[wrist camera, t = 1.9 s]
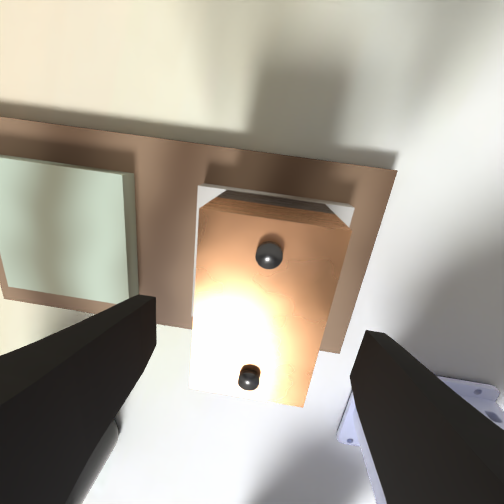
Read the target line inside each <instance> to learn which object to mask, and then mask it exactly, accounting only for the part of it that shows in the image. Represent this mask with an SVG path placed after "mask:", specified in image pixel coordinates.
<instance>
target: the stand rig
mask: <svg viewBox="0 0 504 504" xmlns="http://www.w3.org/2000/svg"><path fill="white" fill-rule="evenodd" d="M396 174H397V170H390V169H383V168H375V167H368V166H360V165H353V164H346V163H338V162H331V161H324V160H316V159H309V158H301V157H294V156H287V155H279V154H272V153H265V152H257V151H250V150H242V149H235V148H228V147H220V146H213V145H206V144H198V143H191V142H183V141H176V140H169V139H161V138H154V137H147V136H139V135H132V134H124V133H117V132H110V131H102V130H95V129H87V128H80V127H73V126H65V125H58V124H51V123H43V122H36V121H28V120H21V119H14V118H6V117H0V285H1V288H2V292H3V296H4V299H9V300H15V301H21V302H27V303H33V304H39V305H45V306H51V307H58V308H64V309H70V310H76V311H82V312H88V313H94V314H98V313H100V312H102V311H104V310H106V309H108V308H110V307H112V306H114V305H116V304H118V303H120V302H122V301H124V300H127V299H129V298H131V297H133V296H136V295H138V294H140V295H147V296H153V297H156V324H161V325H167V326H174V327H180V328H186V329H192V330H193V315H194V296H195V276H196V257H197V238H198V219H199V208H200V207H202V206H203V205H205V204H206V203H208V202H209V201H211V200H212V199H214V198H215V197H217V196H218V195H220V194H221V193H223V192H224V191H226V190H232V191H239V192H246V193H253V194H260V195H267V196H274V197H281V198H289V199H296V200H303V201H310V202H317V203H324V204H326V205H327V206H328V207H329V208H330V209H331V210H332V211H333V212H334V213H335V214H336V215H337V216H338V217H339V218H340V219H341V220H342V221H343V222H344V223H345V224H346V225H347V226H348V227H349V228H350V229H351V230H352V234H351V237H350V241H349V244H348V248H347V252H346V255H345V259H344V262H343V266H342V270H341V273H340V277H339V280H338V284H337V287H336V291H335V295H334V298H333V302H332V305H331V309H330V313H329V316H328V320H327V323H326V327H325V330H324V334H323V338H322V341H321V345H320V348H319V350H320V351H326V352H332V353H338V354H340V351H341V347H342V344H343V341H344V338H345V335H346V332H347V328H348V325H349V322H350V319H351V316H352V313H353V310H354V306H355V303H356V300H357V297H358V294H359V291H360V288H361V284H362V281H363V278H364V275H365V272H366V269H367V265H368V262H369V259H370V256H371V253H372V250H373V247H374V243H375V240H376V237H377V234H378V231H379V228H380V224H381V221H382V218H383V215H384V212H385V209H386V206H387V202H388V199H389V196H390V193H391V190H392V187H393V184H394V180H395V177H396Z"/></svg>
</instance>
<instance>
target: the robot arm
mask: <svg viewBox="0 0 504 504" xmlns="http://www.w3.org/2000/svg"><path fill="white" fill-rule="evenodd" d="M155 346H156V297H153V296H147V295H140V294H138V295H136V296H133V297H131V298H129V299H127V300H124V301H122V302H120V303H118V304H116V305H114V306H112V307H110V308H108V309H106V310H104V311H102V312H100V313H98V314H96V315H94V316H91V317H89V318H87V319H85V320H83V321H81V322H79V323H77V324H75V325H72V326H70V327H68V328H66V329H63V330H61V331H59V332H57V333H54V334H52V335H50V336H48V337H45V338H43V339H41V340H39V341H36V342H34V343H32V344H29V345H27V346H24V347H22V348H19V349H17V350H14V351H12V352H9V353H6V354H4V355H1V356H0V504H65V503H66V501H67V499H68V497H69V495H70V493H71V491H72V490H73V488H74V486H75V484H76V482H77V480H78V478H79V476H80V475H81V473H82V471H83V469H84V467H85V465H86V463H87V461H88V460H89V458H90V456H91V454H92V453H93V451H94V449H95V448H96V446H97V444H98V443H99V441H100V439H101V438H102V436H103V435H104V433H105V432H106V430H107V428H108V427H109V425H110V424H111V422H112V421H113V419H114V417H115V416H116V414H117V413H118V411H119V410H120V408H121V407H122V405H123V403H124V402H125V400H126V399H127V397H128V396H129V394H130V392H131V391H132V389H133V388H134V386H135V384H136V383H137V381H138V380H139V378H140V376H141V375H142V373H143V372H144V370H145V368H146V365H147V363H148V361H149V359H150V357H151V355H152V353H153V351H154V349H155ZM350 380H351V386H352V393H351V396H350V399H349V402H348V404H347V407H346V410H345V413H344V415H343V418H342V421H341V424H340V426H339V429H338V432H337V440H338V441H339V442H340V443H343V444H348V445H354V446H360V448H361V451H362V455H363V458H364V462H365V465H366V468H367V472H368V475H369V479H370V482H371V486H372V489H373V493H374V496H375V500H376V503H377V504H504V411H503V410H502V409H501V408H500V407H499V405H498V404H497V403H496V402H495V401H496V400H497V398H498V397H499V394H500V391H499V390H498V389H497V388H496V387H495V386H493V385H489V384H482V383H476V382H470V381H464V380H458V379H452V378H446V377H440V376H436V375H434V374H433V373H432V372H431V371H430V370H428V369H427V368H426V367H425V366H424V365H423V364H421V363H420V362H419V361H418V360H417V359H416V358H414V357H413V356H412V355H411V354H410V353H409V352H407V351H406V350H405V349H404V348H403V347H401V346H400V345H399V344H398V343H397V342H395V341H394V340H393V339H392V338H390V337H389V336H388V335H386V334H385V333H380V332H374V331H368V330H366V331H365V334H364V337H363V340H362V343H361V346H360V349H359V351H358V354H357V357H356V360H355V363H354V366H353V368H352V371H351V374H350Z"/></svg>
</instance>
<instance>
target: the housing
mask: <svg viewBox="0 0 504 504" xmlns="http://www.w3.org/2000/svg"><path fill="white" fill-rule="evenodd" d="M351 234H352V230H351V229H350V228H349V227H348V226H347V225H346V224H345V223H344V222H343V221H342V220H341V219H340V218H339V217H338V216H337V215H336V214H335V213H334V212H333V211H332V210H331V209H330V208H329V207H328V206H327V205H326V204H324V203H317V202H310V201H303V200H296V199H289V198H281V197H274V196H267V195H260V194H253V193H246V192H239V191H232V190H226V191H224V192H223V193H221V194H220V195H218V196H217V197H215V198H214V199H212V200H211V201H209V202H208V203H206V204H205V205H203V206H202V207H200V208H199V219H198V238H197V257H196V276H195V296H194V315H193V334H192V353H191V372H190V388H193V389H198V390H204V391H210V392H216V393H222V394H227V395H233V396H239V397H245V398H251V399H256V400H262V401H268V402H274V403H279V404H285V405H291V406H297V407H303V406H304V402H305V399H306V395H307V391H308V388H309V384H310V381H311V377H312V374H313V370H314V366H315V363H316V359H317V356H318V352H319V348H320V345H321V341H322V338H323V334H324V330H325V327H326V323H327V320H328V316H329V313H330V309H331V305H332V302H333V298H334V295H335V291H336V287H337V284H338V280H339V277H340V273H341V270H342V266H343V262H344V259H345V255H346V252H347V248H348V244H349V241H350V237H351Z"/></svg>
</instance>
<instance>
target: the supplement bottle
mask: <svg viewBox="0 0 504 504" xmlns="http://www.w3.org/2000/svg"><path fill="white" fill-rule="evenodd" d="M117 440H118V427H117V424H116V422H115V420H114V419H113V421H112V422H111V424H110V425H109V427H108V428H107V430H106V432H105V433H104V435H103V436H102V438H101V439H100V441H99V443H98V444H97V446H96V448H95V449H94V451H93V453H92V454H91V456H90V458H89V460H88V461H87V463H86V465H85V467H84V469H83V471H82V473H81V475H80V476H79V478H78V480H77V482H76V484H75V486H74V488H73V490H72V491H71V493H70V495H69V497H68V499H67V501H66V503H65V504H82V503H83V501H84V499H85V498H86V496H87V494H88V493H89V491H90V489H91V487H92V486H93V484H94V482H95V480H96V479H97V477H98V475H99V473H100V472H101V470H102V468H103V466H104V465H105V463H106V461H107V459H108V458H109V456H110V454H111V452H112V450H113V449H114V447H115V445H116V443H117Z"/></svg>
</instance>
